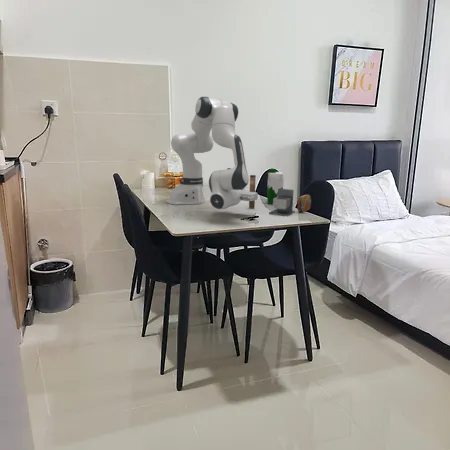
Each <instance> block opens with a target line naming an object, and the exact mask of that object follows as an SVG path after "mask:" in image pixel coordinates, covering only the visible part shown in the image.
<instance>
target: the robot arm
mask: <svg viewBox="0 0 450 450" xmlns="http://www.w3.org/2000/svg"><path fill="white" fill-rule="evenodd" d="M238 117H239V108H238V106H237V105H236V104H234V103H232V102H229V101H226V100H223V99H220V98H214V97H209V96H200V97H199V98H198V99H197V101H196V103H195V114H194V116H193V118H192V120H191V122H190V123H191V125H190V126H191V130H192V131H193V133H185V132H184V133H178V134H174V135H173V136H172V138H171V140H170V146H171V148H172V150H173V152H175V153H176V154H177V156H179V159H180V161H181V164H182V177H177V178H176V180H177V182H179V184H178V185H177V186H176V187H174V188H173V189H172V190H171V191H170V192H169V193H170V194H169V198H166V200H165V202H166V203H167V204H169V205H175V206H176V205H177V206H179V205H200V204H202V203H204V202H206V200H205V197H204V191H203V186H204V181H203V180H204V179H203V165H202V164H203V163H202V162H201V161H199V160H198V159H197V158H196V157H195V154H204V153H207V152H210V151H212V149H213V147H214V143H215V144H216V145H218V146H220V147H222V148H226V149H230V150H232V153H233V161H234V166H233V168H231V169H228V168H227V169H219V170H214V171H213V172H211V174H210V176H209V179H208V187H209V190H210V193H211V195H210V199H209V201H210V204H211V206H212V207H213V208H215V209H217V210H224V209H225V210H226V209H229V208H231V207H233V206H234V207H235V206H236V205H238V204H239V203H240V202H241V201H245V202H249V201H254V200H255V201H257V200H258V196H259V195H258V192H256V191H255V192H250V191H246V190H244V189H245V188H246V187H247V186H248V184H249V182H250V178H249V174H248V171H247V166H246V158H245V152H244V146H243V142H242V139H241V137H240V136H239V135H237V133H236V121H237V119H238ZM210 133H211V134H210Z"/></svg>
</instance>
